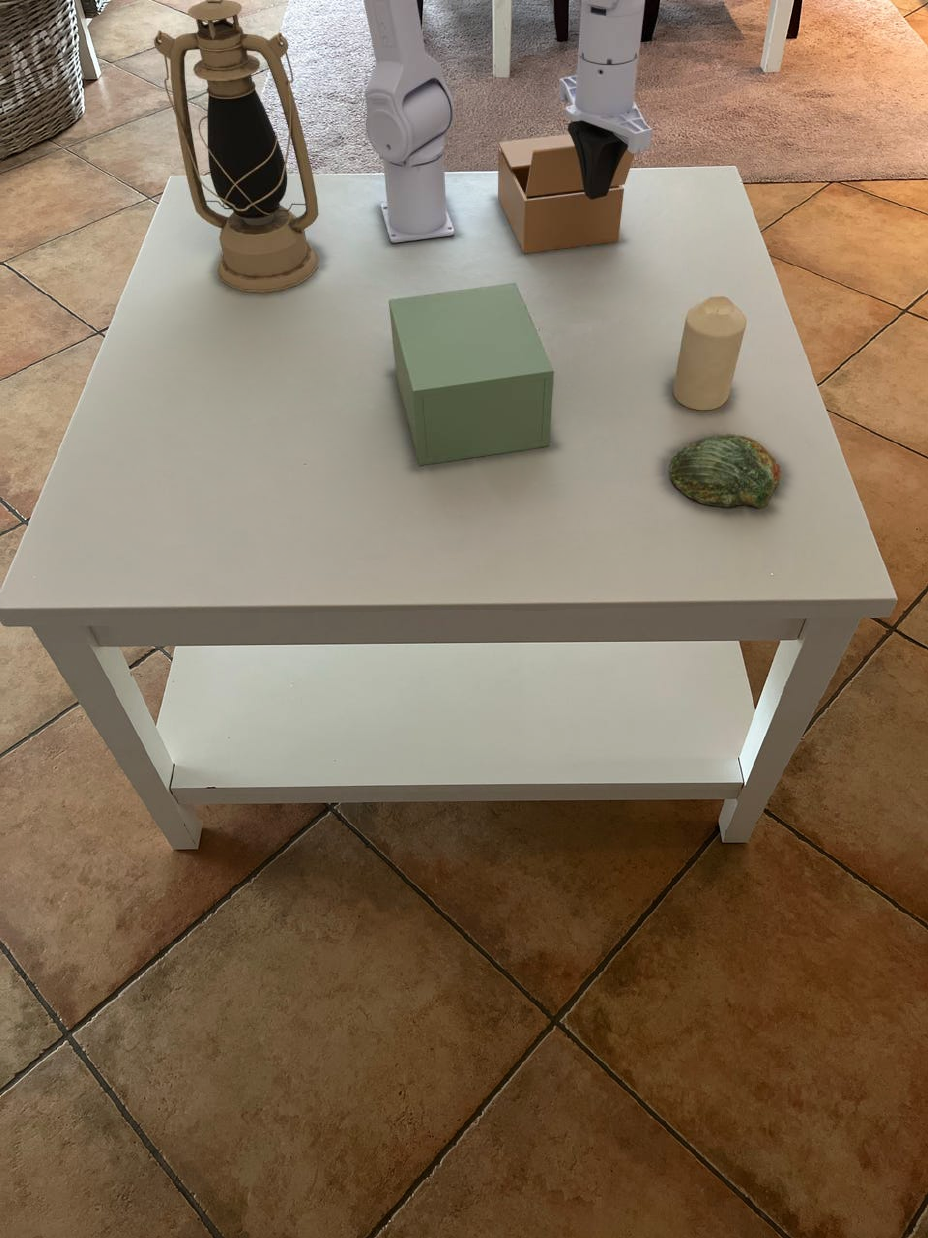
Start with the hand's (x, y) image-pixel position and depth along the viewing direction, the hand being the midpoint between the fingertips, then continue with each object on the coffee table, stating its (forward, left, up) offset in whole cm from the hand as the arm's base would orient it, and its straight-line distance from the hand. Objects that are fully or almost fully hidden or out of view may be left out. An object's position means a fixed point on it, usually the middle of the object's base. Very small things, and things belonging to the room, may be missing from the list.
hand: (595, 194), depth 97 cm
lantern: (-12, -36, -10) cm, 39 cm away
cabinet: (+20, -18, -10) cm, 28 cm away
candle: (+23, +5, -10) cm, 25 cm away
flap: (-6, 0, 0) cm, 6 cm away
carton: (-14, 0, -10) cm, 18 cm away
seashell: (+35, +3, -10) cm, 36 cm away
